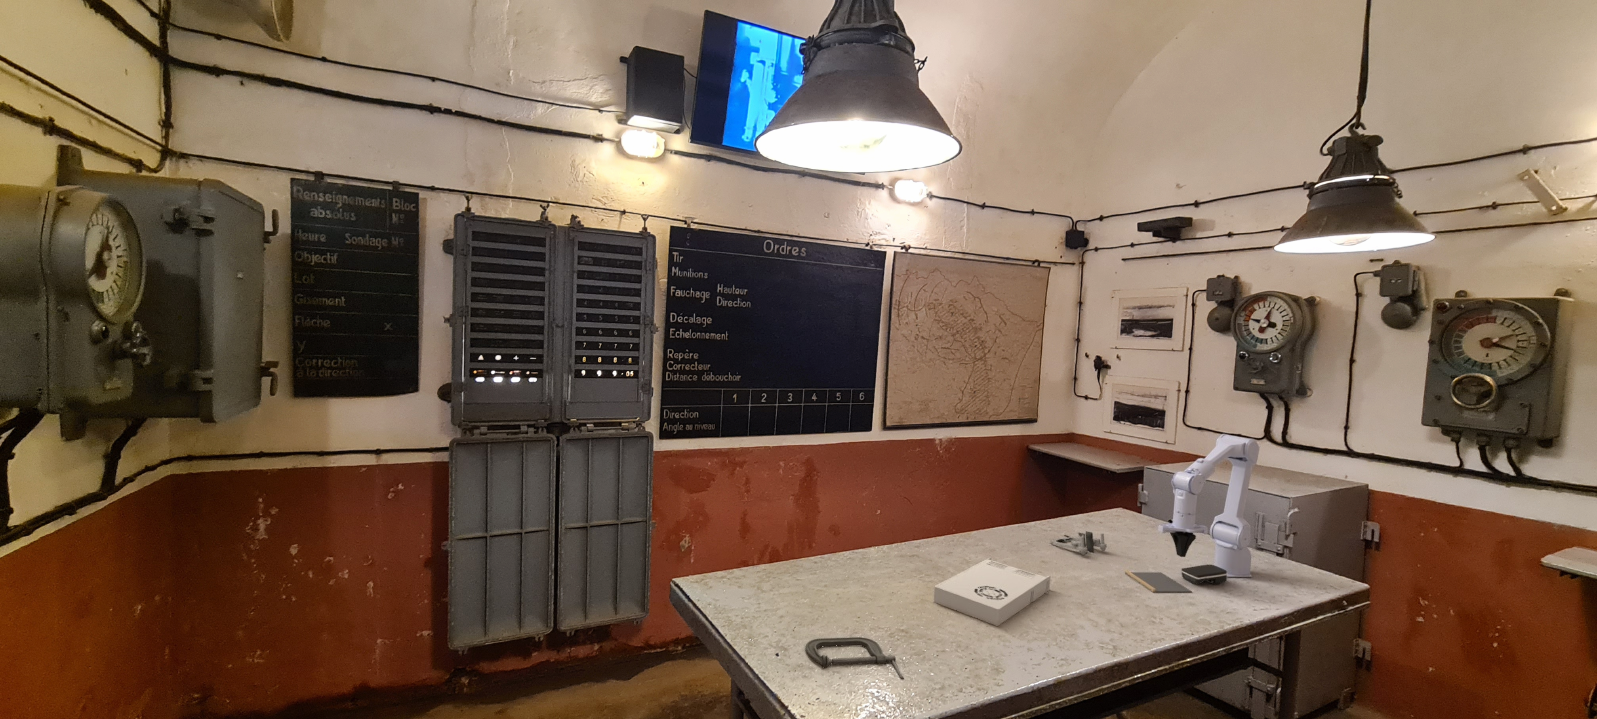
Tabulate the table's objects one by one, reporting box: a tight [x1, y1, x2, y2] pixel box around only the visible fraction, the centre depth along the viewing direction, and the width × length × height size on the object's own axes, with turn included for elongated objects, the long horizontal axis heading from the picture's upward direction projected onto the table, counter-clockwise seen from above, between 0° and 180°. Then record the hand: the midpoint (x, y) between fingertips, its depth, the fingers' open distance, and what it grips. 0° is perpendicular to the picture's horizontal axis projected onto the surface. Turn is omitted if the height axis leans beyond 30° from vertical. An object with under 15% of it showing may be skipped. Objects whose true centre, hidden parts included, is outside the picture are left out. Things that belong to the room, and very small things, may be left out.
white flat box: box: [933, 557, 1051, 627], centre depth 183 cm, size 19×33×5 cm, turn 137°
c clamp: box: [805, 636, 905, 680], centre depth 147 cm, size 20×17×3 cm
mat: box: [1124, 570, 1193, 594], centre depth 197 cm, size 12×14×1 cm
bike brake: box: [1048, 530, 1108, 556], centre depth 227 cm, size 14×7×20 cm
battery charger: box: [1180, 564, 1228, 585], centre depth 200 cm, size 7×4×11 cm
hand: (1180, 555), depth 197 cm, fingers closed
